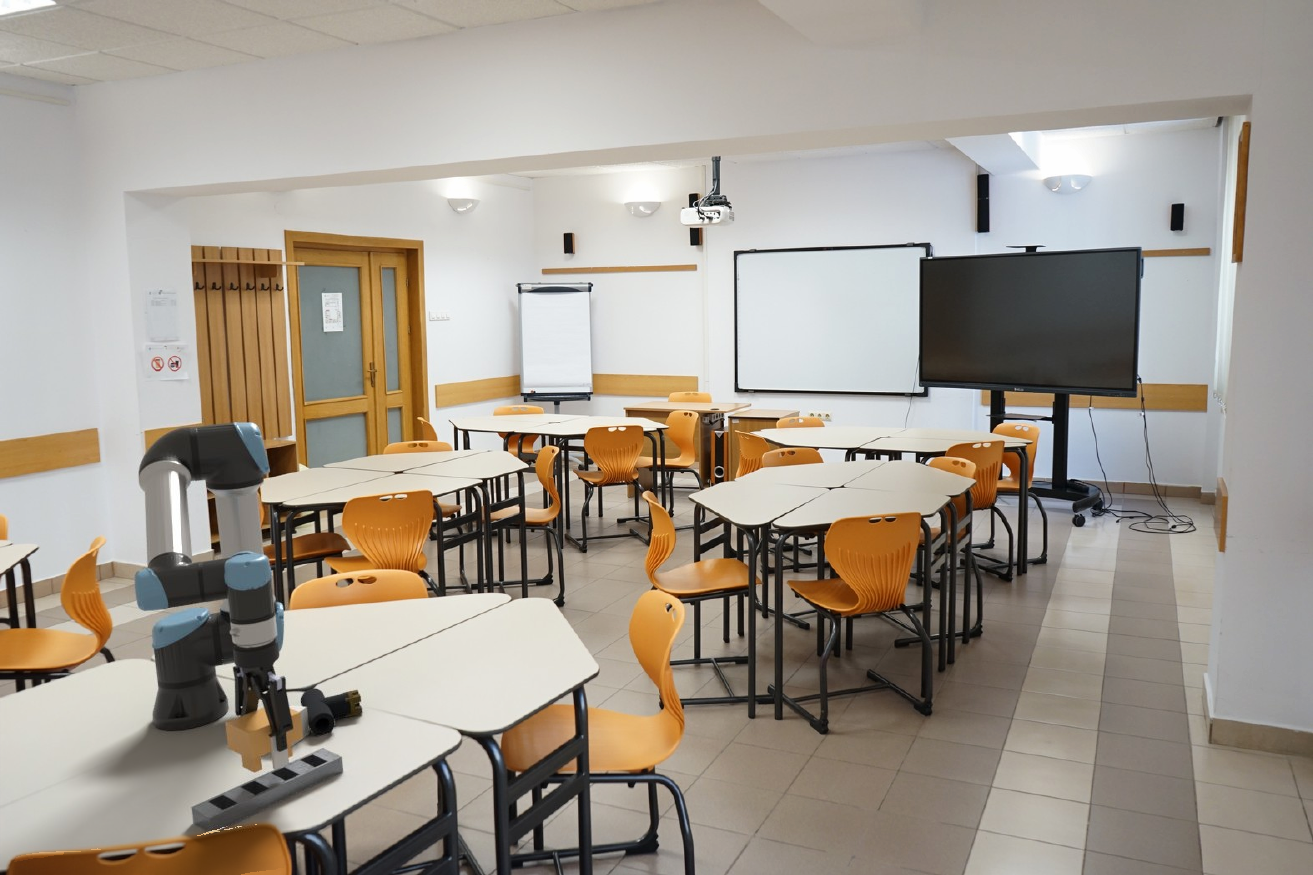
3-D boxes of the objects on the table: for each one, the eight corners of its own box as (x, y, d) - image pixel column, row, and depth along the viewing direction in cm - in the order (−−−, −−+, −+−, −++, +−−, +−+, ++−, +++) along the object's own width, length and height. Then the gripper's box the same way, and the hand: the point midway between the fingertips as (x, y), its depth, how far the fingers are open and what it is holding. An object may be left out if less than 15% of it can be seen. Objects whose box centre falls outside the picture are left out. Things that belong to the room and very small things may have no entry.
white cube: (309, 733, 199) (306, 706, 198) (291, 746, 194) (288, 719, 193) (285, 731, 201) (282, 704, 200) (266, 744, 195) (263, 716, 194)
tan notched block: (230, 766, 171) (225, 722, 170) (280, 745, 179) (276, 702, 178) (253, 778, 167) (248, 733, 165) (304, 756, 174) (300, 712, 173)
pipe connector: (352, 678, 215) (365, 702, 202) (354, 700, 216) (367, 725, 203) (299, 690, 210) (308, 715, 197) (302, 713, 211) (311, 739, 197)
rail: (193, 822, 166) (191, 807, 166) (324, 762, 186) (322, 747, 186) (211, 834, 162) (209, 818, 162) (343, 771, 182) (341, 756, 182)
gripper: (205, 636, 173) (219, 753, 176) (267, 658, 160) (280, 784, 164) (244, 624, 179) (256, 738, 182) (306, 645, 166) (318, 766, 169)
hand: (268, 759), depth 173 cm, fingers closed on tan notched block, 8 cm apart
